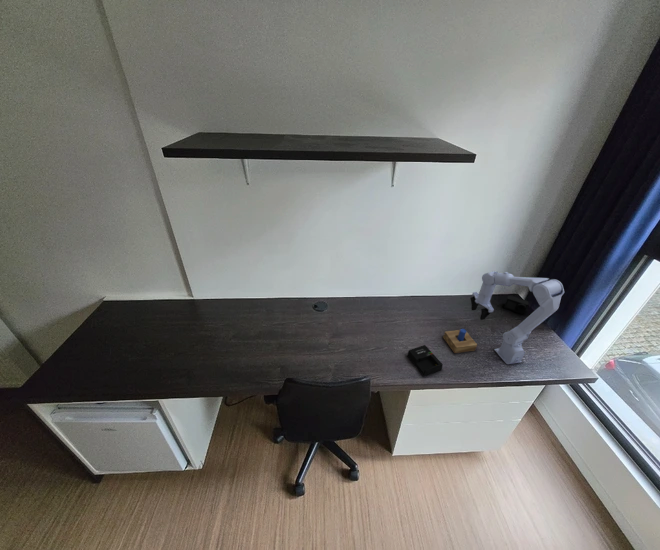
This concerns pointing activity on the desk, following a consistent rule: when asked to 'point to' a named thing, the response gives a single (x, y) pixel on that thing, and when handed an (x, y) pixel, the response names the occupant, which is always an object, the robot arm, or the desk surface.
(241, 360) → the desk surface
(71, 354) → the desk surface
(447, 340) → the holder
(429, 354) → the battery charger
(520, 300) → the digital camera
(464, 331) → the handle
